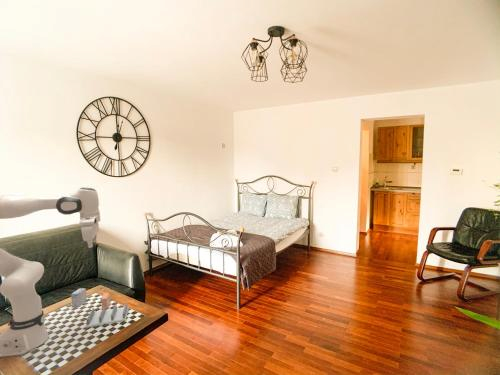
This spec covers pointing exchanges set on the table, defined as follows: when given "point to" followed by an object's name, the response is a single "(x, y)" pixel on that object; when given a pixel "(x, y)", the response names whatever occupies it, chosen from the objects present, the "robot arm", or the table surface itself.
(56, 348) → the table surface
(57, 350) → the table surface
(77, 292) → the medicine box
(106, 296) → the block
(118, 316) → the rack
